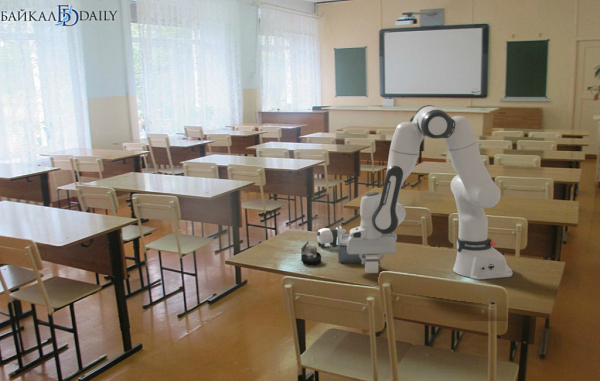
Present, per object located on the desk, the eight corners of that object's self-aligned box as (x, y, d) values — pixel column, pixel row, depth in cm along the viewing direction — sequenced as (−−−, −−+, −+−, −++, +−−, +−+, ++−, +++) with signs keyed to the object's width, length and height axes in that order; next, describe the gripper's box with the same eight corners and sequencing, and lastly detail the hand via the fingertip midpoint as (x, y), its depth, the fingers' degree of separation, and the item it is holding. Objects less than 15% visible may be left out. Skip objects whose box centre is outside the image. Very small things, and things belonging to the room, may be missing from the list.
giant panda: (319, 249, 251) (319, 229, 249) (315, 246, 256) (314, 226, 254) (348, 245, 256) (348, 225, 254) (343, 241, 261) (343, 222, 259)
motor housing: (362, 251, 246) (362, 233, 244) (364, 262, 232) (364, 243, 230) (338, 251, 247) (337, 233, 245) (338, 262, 232) (338, 243, 231)
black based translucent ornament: (315, 272, 229) (295, 265, 234) (327, 259, 238) (307, 253, 242) (315, 259, 226) (295, 253, 231) (327, 246, 235) (307, 240, 239)
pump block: (376, 266, 227) (376, 250, 226) (378, 273, 219) (378, 256, 218) (364, 266, 227) (364, 250, 226) (365, 273, 219) (365, 256, 218)
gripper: (396, 228, 222) (395, 260, 225) (346, 229, 223) (346, 261, 226) (397, 233, 216) (397, 265, 219) (346, 234, 217) (347, 266, 220)
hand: (371, 263), depth 223 cm, fingers closed on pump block, 5 cm apart
